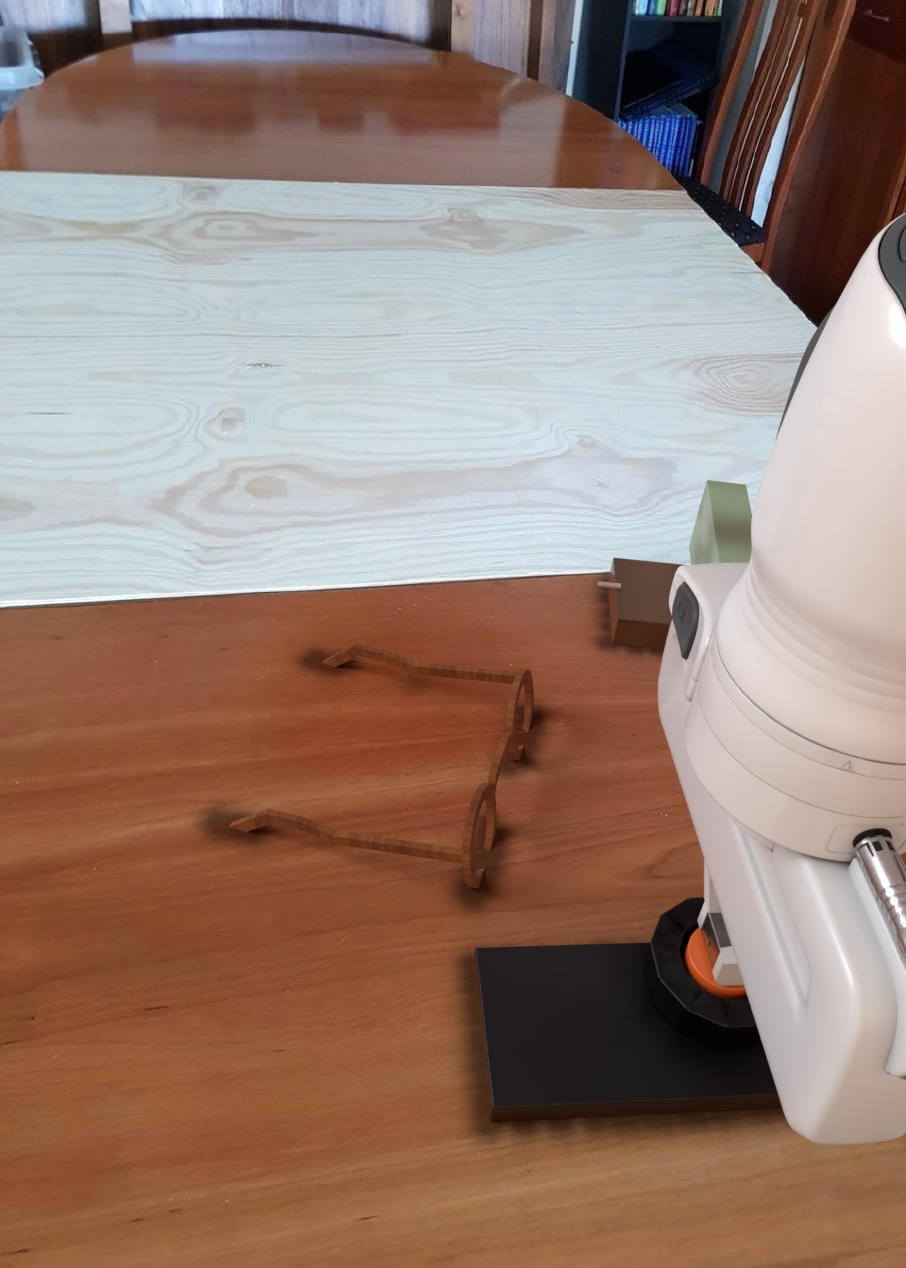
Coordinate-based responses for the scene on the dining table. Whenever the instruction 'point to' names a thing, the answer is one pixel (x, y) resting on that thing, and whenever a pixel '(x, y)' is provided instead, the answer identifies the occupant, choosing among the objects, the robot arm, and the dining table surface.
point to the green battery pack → (722, 525)
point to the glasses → (482, 793)
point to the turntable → (640, 602)
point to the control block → (614, 1031)
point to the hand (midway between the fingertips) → (724, 954)
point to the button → (706, 970)
